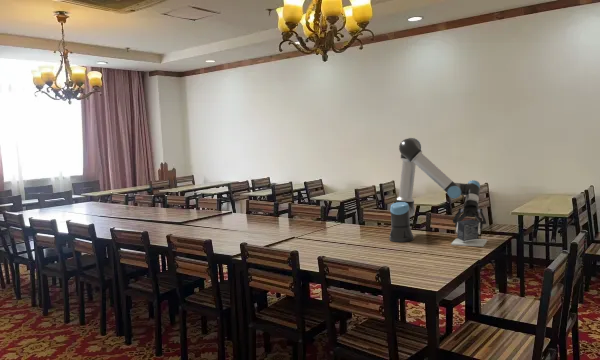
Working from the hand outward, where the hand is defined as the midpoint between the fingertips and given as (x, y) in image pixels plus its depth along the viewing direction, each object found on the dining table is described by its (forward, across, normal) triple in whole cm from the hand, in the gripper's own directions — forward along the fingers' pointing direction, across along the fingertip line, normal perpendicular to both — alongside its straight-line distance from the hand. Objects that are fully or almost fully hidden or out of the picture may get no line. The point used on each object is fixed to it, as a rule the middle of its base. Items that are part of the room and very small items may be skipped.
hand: (467, 232), depth 280 cm
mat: (+3, 0, -7) cm, 7 cm away
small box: (+1, +1, -4) cm, 4 cm away
